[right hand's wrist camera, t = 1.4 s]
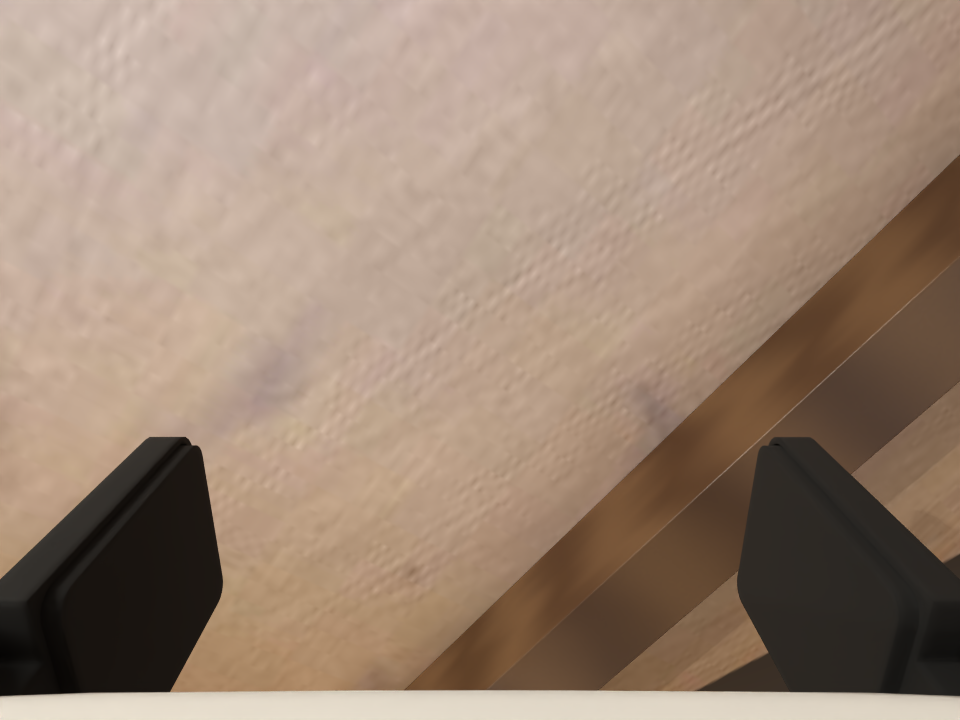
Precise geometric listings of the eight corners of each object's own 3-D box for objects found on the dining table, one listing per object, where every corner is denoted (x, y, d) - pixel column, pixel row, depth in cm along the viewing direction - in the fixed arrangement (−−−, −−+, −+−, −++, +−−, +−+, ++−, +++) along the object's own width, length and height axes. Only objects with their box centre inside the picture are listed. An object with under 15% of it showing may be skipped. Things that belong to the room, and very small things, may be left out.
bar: (1494, -362, 27) (1786, -501, 21) (1544, -262, 28) (1836, -367, 22) (369, 723, 48) (353, 811, 42) (424, 756, 49) (416, 846, 43)
